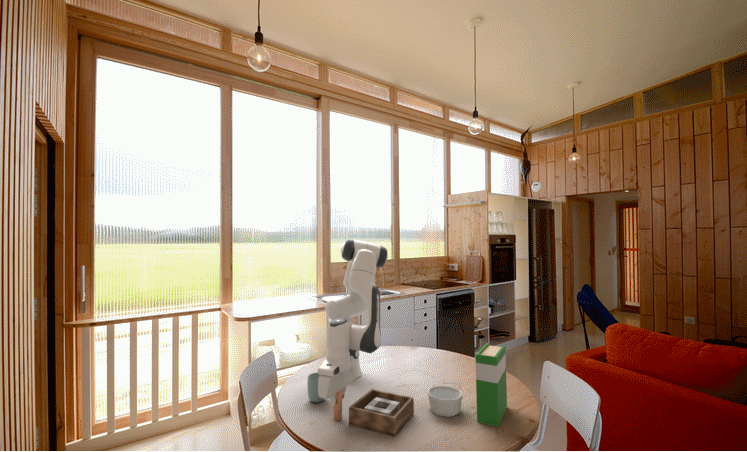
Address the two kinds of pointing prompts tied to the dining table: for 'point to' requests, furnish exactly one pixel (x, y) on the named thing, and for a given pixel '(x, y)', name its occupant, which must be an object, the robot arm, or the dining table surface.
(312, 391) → the cup
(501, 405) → the hardback book
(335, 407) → the peg
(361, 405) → the box
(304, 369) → the dining table surface
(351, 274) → the robot arm
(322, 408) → the dining table surface
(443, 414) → the ramekin
